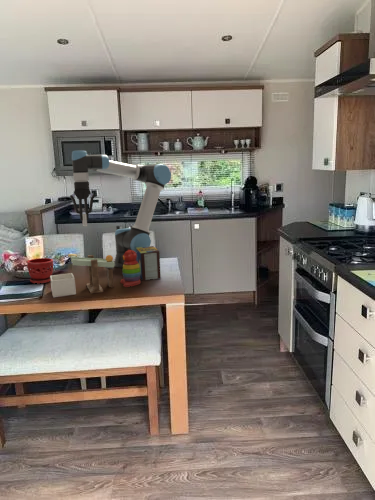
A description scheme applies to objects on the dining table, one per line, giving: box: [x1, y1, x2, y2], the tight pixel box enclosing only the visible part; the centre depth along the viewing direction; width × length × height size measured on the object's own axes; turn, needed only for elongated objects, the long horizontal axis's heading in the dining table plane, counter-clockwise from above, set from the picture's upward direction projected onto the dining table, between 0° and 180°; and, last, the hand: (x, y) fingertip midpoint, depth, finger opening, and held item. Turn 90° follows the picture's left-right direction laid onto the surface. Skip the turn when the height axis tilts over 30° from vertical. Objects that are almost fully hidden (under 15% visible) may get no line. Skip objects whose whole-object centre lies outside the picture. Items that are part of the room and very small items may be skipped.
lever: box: [67, 253, 115, 269], centre depth 193 cm, size 21×18×3 cm
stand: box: [85, 254, 115, 294], centre depth 191 cm, size 12×15×16 cm
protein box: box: [136, 245, 162, 281], centre depth 210 cm, size 10×15×16 cm
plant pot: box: [26, 257, 54, 285], centre depth 205 cm, size 13×13×12 cm
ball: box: [105, 254, 114, 262], centre depth 192 cm, size 4×4×4 cm
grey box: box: [50, 272, 77, 298], centre depth 185 cm, size 11×11×8 cm
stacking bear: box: [119, 250, 142, 288], centre depth 197 cm, size 11×10×18 cm
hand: (85, 226), depth 202 cm, fingers closed
